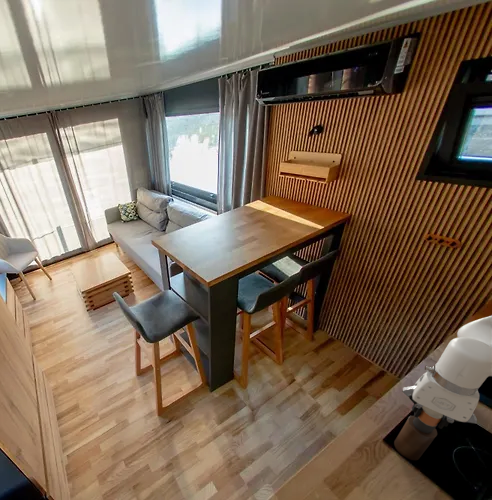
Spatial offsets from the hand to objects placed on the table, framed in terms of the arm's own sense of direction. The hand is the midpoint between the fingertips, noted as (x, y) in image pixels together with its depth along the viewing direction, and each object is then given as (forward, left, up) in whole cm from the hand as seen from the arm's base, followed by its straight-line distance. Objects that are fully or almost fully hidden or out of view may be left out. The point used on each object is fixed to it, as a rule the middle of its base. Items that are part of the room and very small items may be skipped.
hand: (427, 418), depth 73 cm
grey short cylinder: (0, 0, -4) cm, 4 cm away
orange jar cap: (0, 0, 0) cm, 0 cm away
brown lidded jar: (0, 0, -18) cm, 18 cm away
